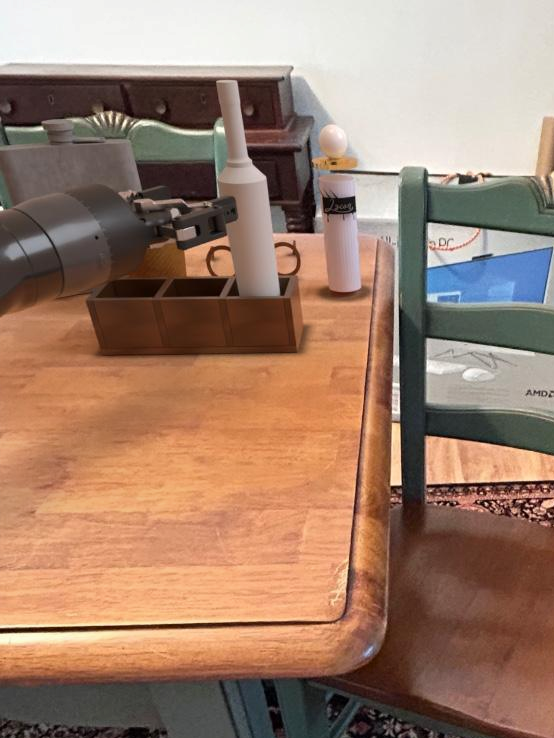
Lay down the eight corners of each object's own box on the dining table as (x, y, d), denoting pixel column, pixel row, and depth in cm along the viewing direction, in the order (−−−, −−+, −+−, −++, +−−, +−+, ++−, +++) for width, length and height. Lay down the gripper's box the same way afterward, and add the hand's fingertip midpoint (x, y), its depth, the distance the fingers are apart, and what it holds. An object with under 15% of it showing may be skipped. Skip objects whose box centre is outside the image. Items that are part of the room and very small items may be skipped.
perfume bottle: (323, 286, 105) (306, 121, 92) (363, 284, 106) (352, 120, 93) (326, 300, 101) (309, 128, 87) (368, 297, 101) (357, 127, 88)
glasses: (210, 285, 105) (202, 248, 102) (211, 258, 114) (205, 223, 111) (303, 279, 107) (298, 242, 104) (297, 253, 117) (292, 219, 113)
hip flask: (44, 299, 100) (-16, 126, 87) (43, 290, 103) (-15, 121, 90) (165, 285, 105) (125, 119, 92) (161, 276, 108) (122, 114, 94)
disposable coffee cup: (204, 290, 103) (184, 195, 95) (198, 314, 96) (177, 213, 88) (133, 294, 102) (108, 197, 94) (122, 318, 95) (93, 216, 87)
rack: (102, 355, 86) (85, 300, 82) (121, 329, 92) (106, 277, 88) (297, 352, 87) (290, 298, 83) (303, 327, 93) (297, 275, 89)
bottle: (236, 331, 89) (190, 80, 73) (272, 321, 92) (236, 77, 75) (258, 343, 86) (215, 85, 70) (295, 332, 89) (263, 81, 73)
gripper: (123, 203, 59) (251, 166, 70) (0, 184, 63) (137, 152, 74) (147, 299, 64) (263, 251, 75) (31, 274, 68) (156, 232, 79)
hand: (200, 201), depth 74 cm, fingers open, 8 cm apart
